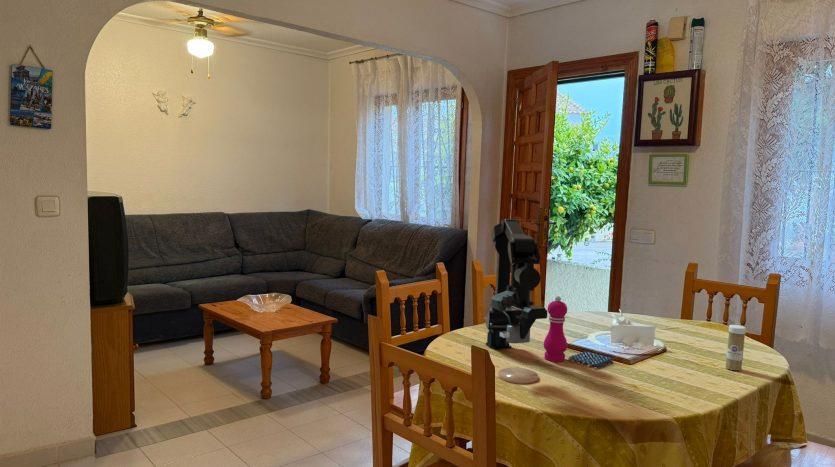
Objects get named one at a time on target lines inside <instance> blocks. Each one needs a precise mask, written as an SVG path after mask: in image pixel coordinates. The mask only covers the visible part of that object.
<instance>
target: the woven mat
mask: <svg viewBox="0 0 835 467" xmlns="http://www.w3.org/2000/svg"><path fill="white" fill-rule="evenodd" d="M567 360H568V361H567V362H570V363H574V364H577V365H581V366H584V367H587V368H590V369H594V370H598V369H600V368H603V367H605V366H608V365H610V364H614V361H613V360H614V358H612V357H609V356H608V357H607V356H605V355H600V354H597V353H593V352H590V351H586V350H585V351H582V352H580V353H577V354H574V355H571V356H569V357H567Z"/></svg>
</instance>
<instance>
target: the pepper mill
mask: <svg viewBox="0 0 835 467" xmlns="http://www.w3.org/2000/svg"><path fill="white" fill-rule="evenodd" d="M561 300H562V298H561V296H559V295H557V296H555V298H554V300H553V301H551V302H550V303H548V306H547V311H548V312H547V314H549V316H548V321H549V329H548V332H547V334H546V336H545V338H544V340H543V348H544V350H545V351H544V356H543V358H544V360H546V361H549V362H554V363H562V362H564V361H565V360H566V353H564V352H566V351H567V349H568V342H567V338H566V336H565V332H564V323H565V322H566V315H567V313H568V307H567V304H566V303H565V302H563V301H561Z"/></svg>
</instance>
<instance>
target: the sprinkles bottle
mask: <svg viewBox="0 0 835 467" xmlns="http://www.w3.org/2000/svg"><path fill="white" fill-rule="evenodd" d="M746 333H747V328H746V326H743V325H739V324H730V325H728V340H727V349H726V362H725V367H726V368H727V370H728V369H730V370H729V371H732V370H741V371H743V369H742V366H743V358H744V350H745V348H744V347H745V338H746V337H745V336H746Z"/></svg>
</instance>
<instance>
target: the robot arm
mask: <svg viewBox="0 0 835 467" xmlns="http://www.w3.org/2000/svg"><path fill="white" fill-rule="evenodd" d="M490 238H491V242H492V246H493V249H494V250H495V252H496V254H497V257H496V272H495V273H496V276H495V294H494V295H493V296H491V297H490V299H491V302H490V304H489V310H488V311H487V314H486V318H485V327H486V329H487V330H488V332H487V334H486V335H487V337H486V342H485V345H487V346H489V347H490V348H492V349H493V350H501V349H503V350H504V349H512V347H513V346H512V345H510V343H508V342H507V341H506V338H503V337H501V336H500V332H504V331H506V332H507V325H509V324H519V323H520V337H521V339H525V337H526V335H527V334H528V332H529V330H530V331H531V328H532V327H533V325H534V323H535V322H536V320H541V319H542V320H543V319H548V309H546V307H543V306H542V305H541V306H540V305H538V304H537V305H534V301H533V300H531V293H532V291H535V288H537V287H538V285H540V283H541V279H542V278H541V274H540V272H539V271H538V270H537V269H536V268H535V266H534V265H540V261H541V253H540V247H539V246H538V243H537V241H536V240H535V239H534V238H533V237H532V236H531V235H528V234H527V235H526V234H525V232H524V231H523V229H522V227H521V225H520V220H519V219H516V218H504V219H502V220H501V222H500V223H498V224H496V225H494V226H493V229H492V231H491V236H490Z"/></svg>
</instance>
